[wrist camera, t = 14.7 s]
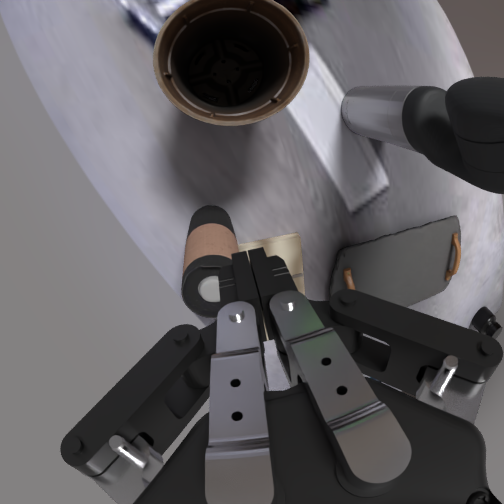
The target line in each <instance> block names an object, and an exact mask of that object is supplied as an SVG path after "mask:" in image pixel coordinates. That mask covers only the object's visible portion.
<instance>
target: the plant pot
mask: <svg viewBox="0 0 504 504" xmlns="http://www.w3.org/2000/svg"><path fill="white" fill-rule="evenodd" d="M235 44H238V45H241V46H243V47H244V48H246V49H247V50H249V52H248V53H247V52H245V51H243V50H242V49H240V48H237V47H235ZM201 52H204V55H203V56H202V58H201V59H200V60H199V62H198V64H197V65H195V61H196V59H197V58H198V56H199V55H200V54H201ZM222 60H225V61H226V62H225V63H221V61H222ZM153 66H154V72H155V76H156V79H157V81H158V84H159V86H160V88H161V89H162V91H163V93H164V94H165V95H166V97H167V98H168V99H169V101H170V102H171V103H172V104H173V105H175V106H176V107H177V108H178V109H179V110H181V111H182V112H184V113H185V114H187V115H189V116H191V117H193V118H195V119H197V120H200V121H203V122H206V123H210V124H215V125H221V126H239V125H246V124H251V123H255V122H259V121H261V120H264V119H266V118H268V117H271V116H272V115H274V114H276V113H278V112H279V111H281V110H282V109H283V108H285V107H286V106H287V105H288V104H289V103H290V102H291V101H292V100H293V99H294V98H295V96H296V95H297V94H298V92H299V91H300V89H301V87H302V86H303V84H304V81H305V79H306V76H307V72H308V68H309V47H308V42H307V39H306V36H305V33H304V31H303V29H302V27H301V26H300V24H299V23H298V21H297V20H296V19H295V17H294V16H293V15H292V14H291V13H290V12H289V11H288V10H287V9H286V8H284V7H283V6H281V5H280V4H278V3H276V2H275V1H273V0H190V1H188V2H187V3H185V4H184V5H182V6H181V7H179V8H178V9H177V10H176V11H175V12H174V13H173V14H172V15H171V16H170V17H169V18H168V19H167V21H166V22H165V23H164V25H163V26H162V28H161V30H160V32H159V34H158V36H157V39H156V42H155V46H154V53H153ZM236 67H239V68H240V69H239V70H238V71H236V70H235V68H236ZM214 72H215V73H217V75H216V76H213V73H214ZM255 79H257V80H258V82H257V84H256V86H255V87H254V88H253V90H252V91H251V92H249V93H248V90H249V88H250V87H251V85H252V84H253V82H254V80H255ZM227 80H230V81H231V83H229V84H228V83H227ZM203 93H207V94H208V95H210V96H212V97H215V98H217V99H218V101H216V102H215V101H212V100H210V99H208V98H206V97H205V96H204V95H203Z"/></svg>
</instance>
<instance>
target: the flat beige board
mask: <svg viewBox="0 0 504 504" xmlns="http://www.w3.org/2000/svg"><path fill="white" fill-rule="evenodd" d="M261 247H263V248H264V250H265V253H266V256H267V257H269V256H274V255H277V256H279V257H280V258H282V259H283V260H284V261H285V263H286V266H287V268H288V270H289V272H290V274H291V276H292V278H293V280H294V282H295V285H296V287H297V289H298V291H299V292H301V293H302V294H304V295H305V290H304V276H303V263H302V251H301V239H300V236H299V234H298V233H292V234H287V235H282V236H278V237H273V238H268V239H263V240H259V241H254V242H249V243H244V244H240V245H238V249H239V252H242V251H247V255H248V250H251V249H256V248H261ZM248 258H249V256H248ZM249 262H250V261H249ZM263 321H264V320H263ZM264 326H265V324H264ZM265 332H266V328H265ZM266 337H267V341H268V340H269V339H268V335H267V332H266Z"/></svg>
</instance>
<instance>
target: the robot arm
mask: <svg viewBox="0 0 504 504" xmlns="http://www.w3.org/2000/svg"><path fill="white" fill-rule="evenodd" d="M342 116H343V119H344V121H345V123H346V125H347V126H348V128H349V129H350V130H351V131H353V132H354V133H356V134H358V135H362V136H365V137H369V138H372V139H376V140H379V141H383V142H386V143H390V144H393V145H396V146H400V147H403V148H406V149H409V150H412V151H415V152H418V153H421V154H424V155H425V156H426V157H427V159H428V160H429V161H431V162H432V163H433V164H434V165H436V166H438V167H440V168H442V169H444V170H446V171H448V172H450V173H451V174H453V175H455V176H457V177H459V178H461V179H463V180H465V181H466V182H468V183H470V184H472V185H474V186H476V187H479V188H481V189H483V190H486V191H489V192H493V193H498V194H504V78H497V77H474V78H468V79H464V80H461V81H458V82H456V83H454V84H453V85H452V86H451V87H450V88H449V89H448V90H447V91H445V90H443V89H441V88H438V87H433V86H360V87H355V88H353V89H351V90H350V91H349V92H348V93H347V94H346V95H345V97H344V99H343V102H342ZM248 256H249V258H248ZM231 257H232V263H233V264H232V265H228V266H223V267H221V269H220V271H219V273H218V281H219V293H220V305H221V310H220V311H219V312H218V315H217V320H216V321H215V322H214V323H212V324H211V325H209V326H207V327H205V328H203V329H200V330H198V328H196V327H195V326H193V325H188V324H184V325H179V326H176V327H174V328H172V329H171V330H169V331H168V332H167V333H166V334H165V335H164V336H163V337H162V338H161V339H160V340H159V341H158V343H156V344H155V345H154V346H153V348H152V349H150V350H149V352H148V353H146V355H144V356H143V357H142V359H141V360H140V361H139V362H138V363H137V364H136V365H135V366H134V367H133V368H132V369H131V370H130V371H129V372H128V373H127V374H126V375H125V376H124V377H123V378H122V379H121V380H120V381H119V382H118V383H117V384H116V385H115V386H114V387H113V388H112V389H111V390H110V391H109V392H108V393H107V394H106V395H105V396H104V397H103V398H102V399H101V400H100V401H99V402H98V403H97V404H96V405H95V406H94V407H93V408H92V409H91V410H90V411H89V412H88V413H87V414H86V416H84V417H83V418H82V420H81V421H79V422H78V423H77V424H76V426H75V427H74V428H73V429H72V430H71V431H70V432H69V433H68V434H67V435H66V436H65V437H64V439H63V440H62V443H61V455H62V457H63V459H64V461H65V462H66V463H67V464H69V465H70V466H72V467H74V468H75V469H77V470H79V471H80V472H81V473H82V474H84V475H85V476H87V477H89V478H91V479H92V480H94V481H95V482H96V483H97V484H98V485H99V486H100V487H101V488H102V489H103V490H104V491H105V492H106V493H107V494H108V495H109V496H110V497H111V498H112V499H113V500H114V501H115V502H116V503H117V504H502V503H501V502H500V501H499V500H498V499H497V498H496V497H495V496H494V495H493V494H492V492H491V491H490V489H489V486H488V483H487V477H486V447H485V441H484V438H483V436H482V434H481V432H480V431H479V430H478V428H477V427H476V426H475V425H474V422H475V419H476V416H477V413H478V410H479V406H480V403H481V400H482V396H483V392H484V388H485V385H486V383H487V381H488V380H489V378H490V377H491V376H492V374H493V373H494V371H495V370H496V368H497V366H498V365H499V363H500V362H501V360H502V357H503V351H502V347H501V345H500V344H499V342H497V340H495V339H494V338H492V337H490V336H488V335H485V334H482V333H479V332H476V331H473V330H470V329H467V328H464V327H462V326H459V325H456V324H453V323H450V322H447V321H444V320H441V319H438V318H435V317H432V316H429V315H427V314H424V313H421V312H418V311H415V310H412V309H409V308H406V307H403V306H400V305H398V304H395V303H392V302H389V301H386V300H383V299H380V298H377V297H374V296H372V295H369V294H366V293H363V292H360V291H357V290H353V289H343V290H339V291H337V292H335V293H334V294H333V295H332V296H331V297H330V301H312V300H308V299H307V298H306V297H305V295H304V294H302V293H301V292H299V291H298V289H297V287H296V285H295V282H294V280H293V278H292V276H291V274H290V272H289V270H288V268H287V266H286V263H285V261H284V260H283V259H282V258H280V257H279V256H277V255H274V256H269V257H267V256H266V253H265V250H264V248H263V247H261V248H256V249H251V250H248V255H247V251H242V252H237V253H233V254H231ZM249 261H250V262H249ZM263 320H264V321H263ZM264 324H265V326H264ZM265 328H266V332H267V335H268V339H269V340H272V339H274V340H275V344H276V349H277V354H278V357H279V359H280V362H281V364H282V367H283V370H284V372H285V375H286V377H287V380H288V382H289V385H290V387H291V388H289V389H287V390H284V391H269V385H268V378H267V370H266V363H265V356H264V353H265V348H264V343H263V342H264V341H267V337H266V332H265ZM363 333H364V334H367V335H369V336H372V337H374V338H377V339H379V340H382V341H384V342H386V343H387V344H389V346H388V345H385V344H383V343H380V342H378V341H375V340H373V339H370V338H368V337H365V336H363ZM362 373H363V374H365V375H368V376H370V377H372V378H374V379H377V380H379V381H381V382H384V383H386V384H388V385H391V386H393V387H395V388H398V389H400V390H402V391H405V392H407V393H410V394H412V395H415V396H416V398H417V399H415V398H413V397H411V396H409V395H407V394H405V393H402V392H400V391H398V390H396V389H394V388H392V387H389V386H387V385H385V384H383V383H381V382H379V381H377V380H374V379H371V378H368V377H364V376H363V374H362ZM209 397H210V407H209V408H210V410H209V412H208V413H207V414H205V415H204V416H203V417H202V418H201V419H200V420H199V421H198V422H197V423H196V424H195V425H194V427H193V428H192V429H191V430H190V432H189V433H188V435H187V436H186V437H185V439H184V440H183V441H182V442H181V444H180V445H179V447H178V448H177V449H176V450H175V452H174V453H173V454H172V456H171V457H170V458H169V459H168V461H167V462H166V463H165V465H164V466H163V458H162V455H163V453H164V452H165V451H166V450H167V449H168V447H169V446H170V445H171V444H172V443H173V441H174V440H175V439H176V438H177V437H178V435H179V434H180V433H181V432H182V431H183V429H184V428H185V427H186V426H187V424H188V423H189V422H190V421H191V419H192V418H193V417H194V415H195V414H196V413H197V412H198V410H199V409H200V408H201V406H203V404H204V403H205V402H206V401H207V399H208V398H209Z"/></svg>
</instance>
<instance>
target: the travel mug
mask: <svg viewBox="0 0 504 504" xmlns="http://www.w3.org/2000/svg"><path fill="white" fill-rule="evenodd" d="M237 252H239V249H238V244H237V239H236V236H235V233H234V229H233V226H232V222H231V219H230V217H229V215H228V214H227V212H226V211H225V210H223V209H222V208H220V207H217V206H205V207H202V208H200V209H199V210H197V211H196V212H195V213H194V215H193V216H192V219H191V222H190V226H189V231H188V236H187V240H186V247H185V256H184V266H183V277H182V288H181V290H182V298H183V301H184V303H185V304H186V306H187V307H188V308H189V309H190V310H191V311H193V312H194V313H196V314H198V315H200V316H203V317H208V318H217V315H218V312H219V311H220V310H221V305H220V293H219V281H218V273H219V271H220V269H221V267H223V266H228V265H232V264H233V263H232V257H231V254H233V253H237Z"/></svg>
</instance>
